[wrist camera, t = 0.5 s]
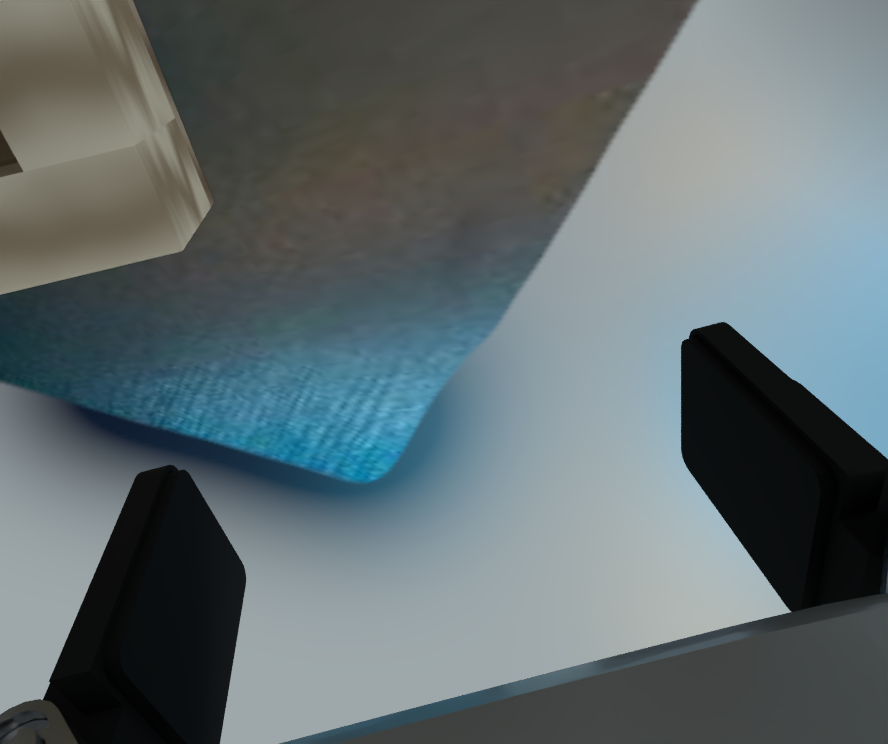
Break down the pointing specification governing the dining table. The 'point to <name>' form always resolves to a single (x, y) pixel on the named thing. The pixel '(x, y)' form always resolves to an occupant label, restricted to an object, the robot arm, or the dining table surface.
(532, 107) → the dining table surface
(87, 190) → the torch stand
